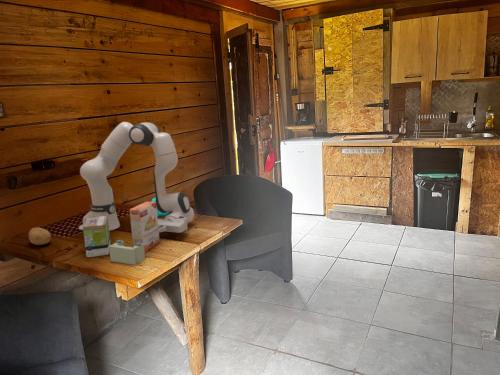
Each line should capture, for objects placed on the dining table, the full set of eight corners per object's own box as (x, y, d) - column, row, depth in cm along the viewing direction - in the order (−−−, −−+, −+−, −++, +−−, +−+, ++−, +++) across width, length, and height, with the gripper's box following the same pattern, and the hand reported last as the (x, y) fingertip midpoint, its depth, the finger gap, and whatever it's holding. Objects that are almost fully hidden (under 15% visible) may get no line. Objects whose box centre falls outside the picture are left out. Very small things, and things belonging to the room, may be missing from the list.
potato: (36, 250, 187) (33, 235, 185) (25, 244, 196) (23, 229, 194) (57, 244, 194) (54, 229, 192) (46, 238, 203) (43, 223, 201)
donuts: (171, 196, 237) (161, 201, 228) (172, 212, 239) (163, 217, 230) (158, 195, 241) (147, 199, 232) (159, 211, 243) (149, 215, 234)
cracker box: (144, 253, 177) (139, 209, 172) (133, 252, 179) (128, 209, 174) (160, 242, 190) (156, 201, 185) (150, 241, 192) (145, 200, 187)
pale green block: (110, 261, 171) (108, 244, 169) (121, 254, 177) (119, 238, 175) (135, 265, 166) (133, 247, 164) (145, 258, 172) (143, 242, 170)
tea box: (109, 254, 178) (105, 224, 175) (86, 258, 175) (81, 227, 172) (111, 243, 192) (107, 214, 189) (89, 246, 189) (85, 217, 186)
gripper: (155, 214, 205) (138, 222, 192) (189, 217, 197) (173, 226, 184) (156, 226, 206) (140, 234, 194) (190, 229, 198) (174, 239, 186)
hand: (156, 230), depth 189 cm, fingers closed
